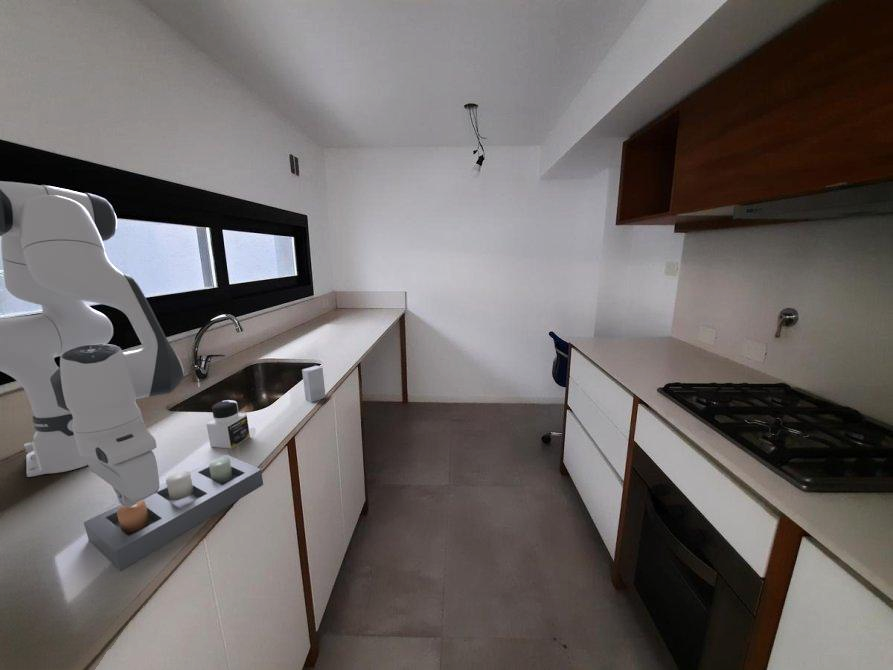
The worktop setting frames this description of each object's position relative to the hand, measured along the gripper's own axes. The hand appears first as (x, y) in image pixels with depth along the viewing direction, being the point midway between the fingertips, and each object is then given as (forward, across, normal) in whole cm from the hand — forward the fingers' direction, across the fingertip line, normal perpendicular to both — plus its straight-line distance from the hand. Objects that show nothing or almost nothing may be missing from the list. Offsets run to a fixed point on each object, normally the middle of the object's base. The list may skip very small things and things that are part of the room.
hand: (128, 503), depth 66 cm
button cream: (+3, 0, +8) cm, 9 cm away
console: (+7, 0, +8) cm, 11 cm away
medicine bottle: (+8, -20, +29) cm, 36 cm away
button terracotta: (+5, 0, 0) cm, 5 cm away
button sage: (+5, 0, +16) cm, 17 cm away
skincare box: (+8, -23, +62) cm, 66 cm away
